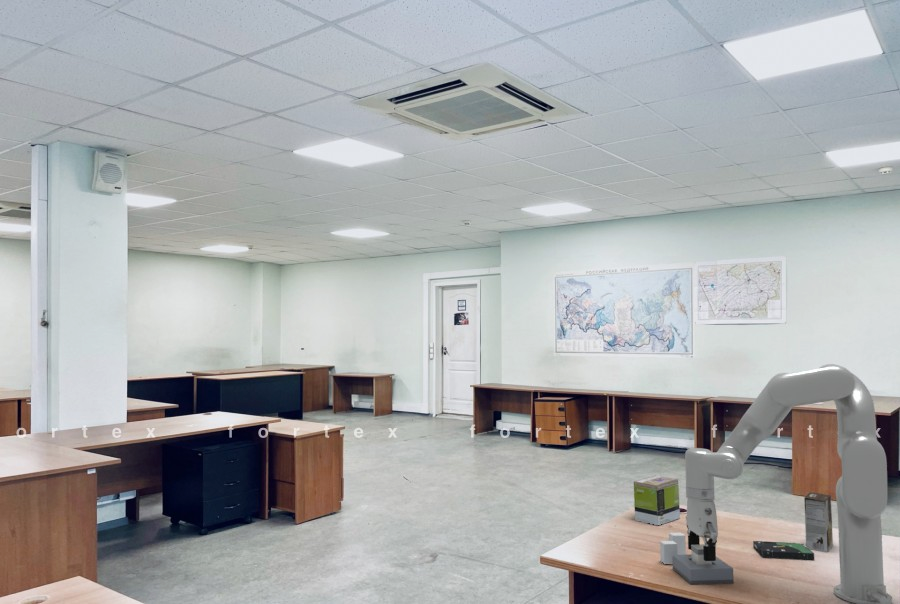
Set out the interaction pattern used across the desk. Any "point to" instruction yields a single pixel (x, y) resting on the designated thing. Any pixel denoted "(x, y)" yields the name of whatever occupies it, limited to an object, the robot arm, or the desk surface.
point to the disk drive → (783, 550)
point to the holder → (702, 571)
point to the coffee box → (818, 522)
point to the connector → (699, 555)
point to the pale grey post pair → (672, 547)
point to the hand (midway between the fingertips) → (701, 554)
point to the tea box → (656, 500)
